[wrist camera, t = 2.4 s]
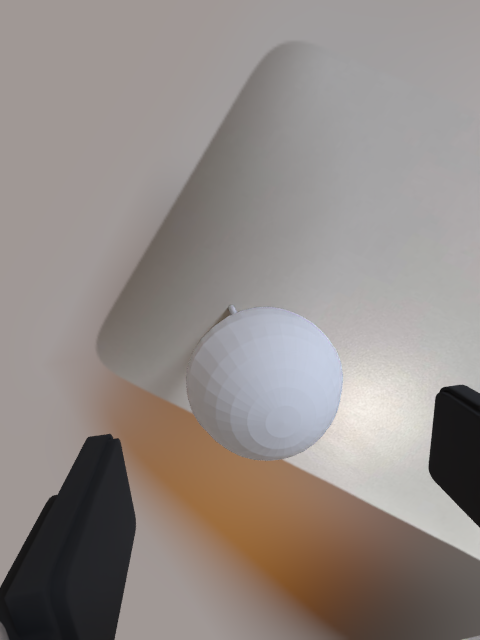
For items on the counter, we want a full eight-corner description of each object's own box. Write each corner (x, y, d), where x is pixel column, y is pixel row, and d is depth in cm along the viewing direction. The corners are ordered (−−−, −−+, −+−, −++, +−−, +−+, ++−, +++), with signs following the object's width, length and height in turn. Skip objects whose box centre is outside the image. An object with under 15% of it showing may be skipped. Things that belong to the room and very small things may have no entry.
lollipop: (281, 280, 24) (405, 357, 10) (259, 352, 26) (340, 509, 11) (200, 258, 23) (210, 311, 9) (181, 335, 24) (164, 487, 10)
